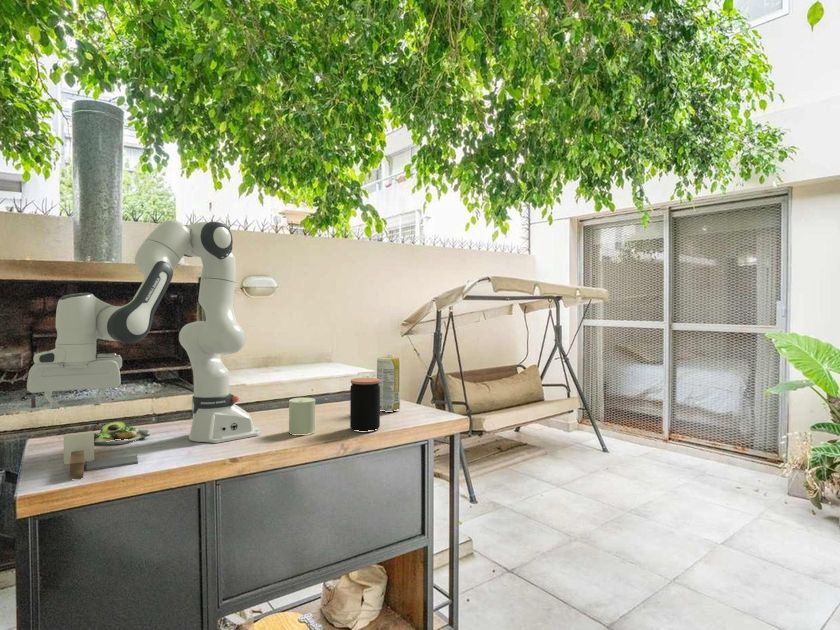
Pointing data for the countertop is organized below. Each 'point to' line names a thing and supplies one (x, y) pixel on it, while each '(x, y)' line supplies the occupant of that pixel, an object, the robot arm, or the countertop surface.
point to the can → (301, 415)
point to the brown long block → (77, 465)
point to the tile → (79, 445)
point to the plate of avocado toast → (119, 433)
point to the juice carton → (389, 382)
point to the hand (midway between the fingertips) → (75, 406)
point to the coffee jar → (365, 404)
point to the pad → (112, 462)
